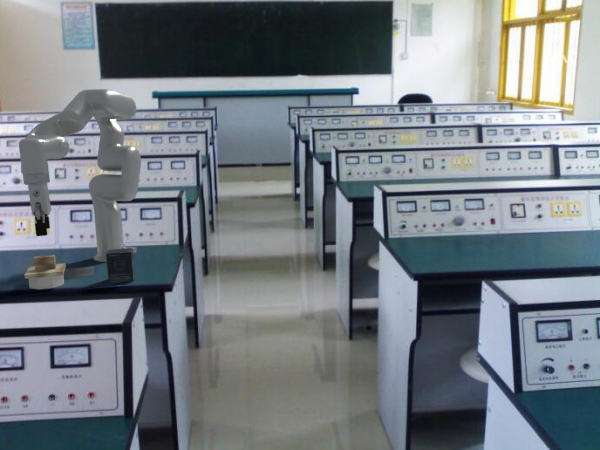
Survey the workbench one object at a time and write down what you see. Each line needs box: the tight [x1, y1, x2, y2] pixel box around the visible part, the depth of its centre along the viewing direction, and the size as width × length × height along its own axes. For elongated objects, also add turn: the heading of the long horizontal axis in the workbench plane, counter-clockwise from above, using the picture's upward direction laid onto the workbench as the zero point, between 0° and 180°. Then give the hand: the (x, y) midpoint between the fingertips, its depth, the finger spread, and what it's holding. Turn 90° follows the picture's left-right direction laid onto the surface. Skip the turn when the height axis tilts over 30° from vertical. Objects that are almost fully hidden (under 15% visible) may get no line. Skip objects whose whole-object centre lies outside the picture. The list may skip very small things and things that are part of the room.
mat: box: [63, 266, 95, 279], centre depth 211 cm, size 12×12×1 cm
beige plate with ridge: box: [24, 254, 67, 279], centre depth 196 cm, size 11×11×5 cm
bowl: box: [27, 275, 65, 290], centre depth 197 cm, size 10×10×4 cm
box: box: [106, 248, 136, 284], centre depth 200 cm, size 8×6×11 cm
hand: (43, 232), depth 195 cm, fingers open, 9 cm apart
